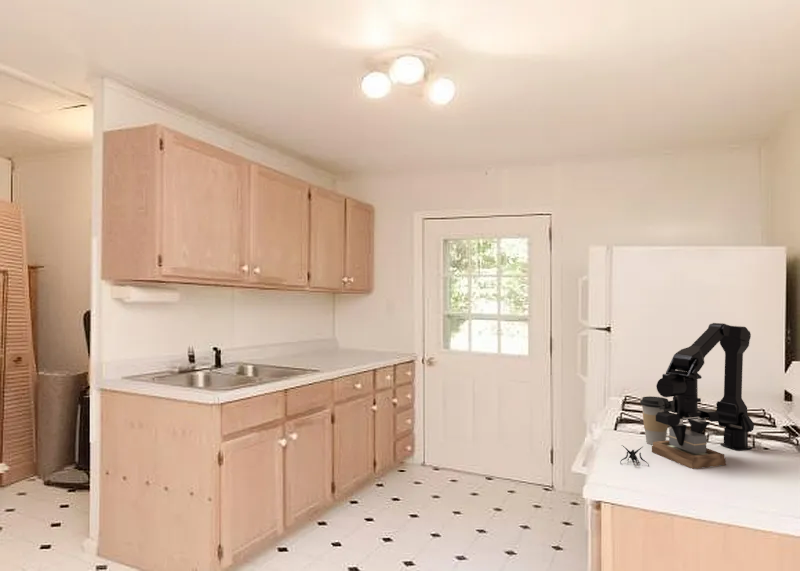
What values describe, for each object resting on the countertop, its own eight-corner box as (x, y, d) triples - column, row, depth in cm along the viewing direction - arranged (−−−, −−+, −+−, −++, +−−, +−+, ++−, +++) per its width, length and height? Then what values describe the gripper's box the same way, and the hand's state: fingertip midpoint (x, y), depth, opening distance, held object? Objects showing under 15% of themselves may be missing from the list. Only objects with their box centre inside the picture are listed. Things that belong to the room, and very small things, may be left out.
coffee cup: (674, 448, 176) (674, 402, 176) (643, 446, 178) (643, 401, 178) (666, 440, 185) (666, 396, 185) (637, 438, 187) (637, 395, 187)
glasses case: (680, 442, 171) (680, 427, 171) (706, 452, 161) (706, 435, 161) (669, 444, 170) (668, 428, 170) (694, 453, 160) (694, 436, 160)
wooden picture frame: (682, 448, 175) (682, 439, 175) (725, 465, 159) (725, 454, 159) (651, 452, 172) (651, 442, 172) (692, 468, 156) (692, 457, 156)
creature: (650, 473, 156) (646, 458, 164) (650, 456, 155) (646, 442, 163) (621, 470, 158) (618, 456, 166) (621, 454, 157) (618, 440, 165)
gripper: (691, 387, 176) (691, 435, 176) (643, 390, 171) (643, 440, 171) (719, 394, 165) (720, 445, 165) (669, 397, 160) (669, 450, 160)
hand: (687, 444), depth 166 cm, fingers closed on glasses case, 4 cm apart
